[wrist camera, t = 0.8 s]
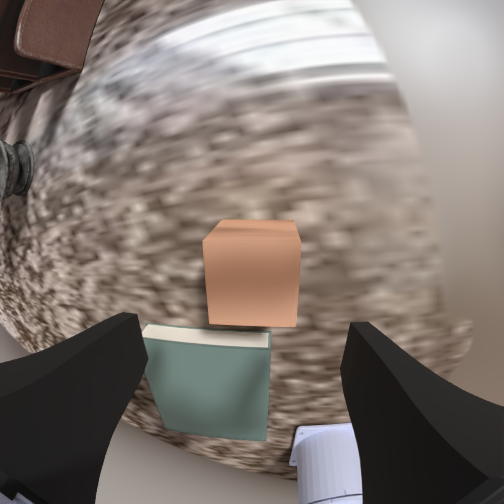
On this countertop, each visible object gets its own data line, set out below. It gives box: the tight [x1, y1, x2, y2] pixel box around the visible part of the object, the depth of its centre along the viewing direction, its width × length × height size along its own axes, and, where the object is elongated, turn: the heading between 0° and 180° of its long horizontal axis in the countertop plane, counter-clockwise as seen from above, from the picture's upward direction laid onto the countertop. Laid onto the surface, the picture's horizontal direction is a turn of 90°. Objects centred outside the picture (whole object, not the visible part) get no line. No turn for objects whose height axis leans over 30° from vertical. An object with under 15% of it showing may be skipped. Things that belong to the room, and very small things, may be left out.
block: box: [203, 220, 301, 327], centre depth 15 cm, size 4×4×5 cm
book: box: [142, 323, 271, 441], centre depth 21 cm, size 12×10×2 cm
